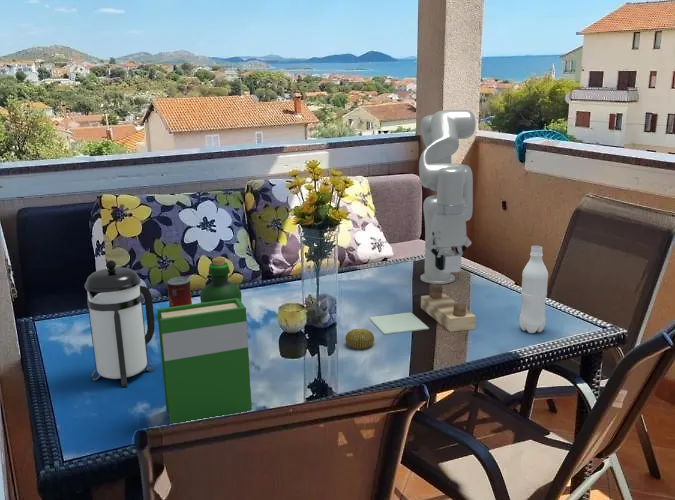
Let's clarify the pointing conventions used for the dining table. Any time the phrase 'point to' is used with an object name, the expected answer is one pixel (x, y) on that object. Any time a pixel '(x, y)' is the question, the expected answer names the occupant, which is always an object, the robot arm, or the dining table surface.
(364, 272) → the dining table surface
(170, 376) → the hardback book
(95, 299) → the coffee press
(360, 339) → the sculpture
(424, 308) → the hand plane
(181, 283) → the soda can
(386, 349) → the dining table surface
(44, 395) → the dining table surface
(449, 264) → the grey block
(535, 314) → the water bottle
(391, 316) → the mat
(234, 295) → the bottle
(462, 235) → the robot arm
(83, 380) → the dining table surface
